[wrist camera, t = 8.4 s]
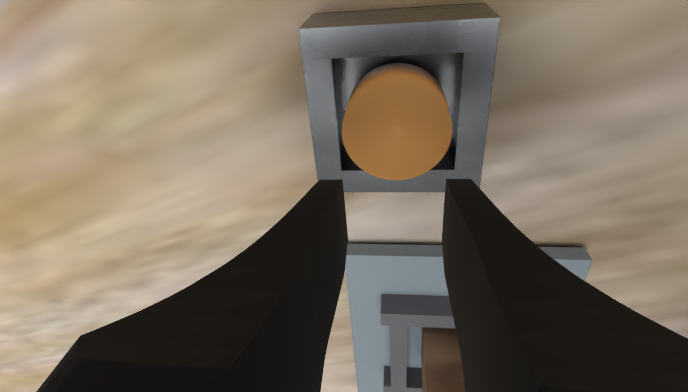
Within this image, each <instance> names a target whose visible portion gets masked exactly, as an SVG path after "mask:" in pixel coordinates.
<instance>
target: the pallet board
mask: <svg viewBox="0 0 688 392" xmlns="http://www.w3.org/2000/svg"><path fill="white" fill-rule="evenodd" d="M539 248H540V249H541V250H543V251H544V252H545V253H546V254H548V255H549V256H550V257H552V258H553V259H554V260H556V261H557V262H558V263H560V264H561V265H562V266H564V267H565V268H567V269H568V270H569V271H571V272H572V273H573V274H575V275H576V276H578V277H579V278H581V279H582V280H584V281H585V279H586V276H587V273H588V270H589V267H590V264H591V261H592V259H591V258H590V256H589V254H588V252H587V251H586V249H585V248H580V247H539ZM345 265H346V275H347V285H348V295H349V306H350V316H351V326H352V336H353V346H354V356H355V366H356V376H357V386H358V392H423V387H422V364H421V345H422V327H431V328H453V329H455V324H454V319H453V314H452V309H451V304H450V300H449V295H448V290H447V285H446V280H445V275H444V263H443V250H442V245H398V244H348V245H347V255H346V264H345Z"/></svg>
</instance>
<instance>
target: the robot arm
mask: <svg viewBox="0 0 688 392" xmlns="http://www.w3.org/2000/svg"><path fill="white" fill-rule="evenodd" d="M347 245H348V235H347V224H346V213H345V202H344V191H343V180H342V179H339V180H319V181H318V182H317V183H316V184H315V185H314V186H313V187H312V188H311V189H310V190H309V191H308V192H307V193H306V195H305V196H304V197H303V198H302V199H301V200H300V201H299V202H298V203H297V204H296V205H295V206H294V207H293V208H292V209H291V210H290V211H289V212H288V213H287V214H286V215H285V216H284V217H283V218H282V219H281V220H280V221H279V222H278V223H277V224H275V225H274V226H273V227H272V228H271V229H270V230H269V231H267V232H266V233H265V234H264V235H263V236H262V237H261V238H260V239H258V240H257V241H256V242H255V243H253V244H252V245H251V246H250V247H248V248H247V249H246V250H244V251H243V252H242V253H240V254H239V255H237V256H236V257H235V258H233V259H232V260H230V261H229V262H228V263H226V264H225V265H223V266H221V267H220V268H218V269H217V270H215V271H213V272H212V273H210V274H208V275H207V276H205V277H203V278H202V279H200V280H198V281H197V282H195V283H194V284H192V285H190V286H188V287H187V288H185V289H183V290H181V291H179V292H177V293H175V294H173V295H172V296H170V297H168V298H166V299H164V300H162V301H160V302H158V303H156V304H154V305H152V306H149V307H147V308H145V309H143V310H141V311H139V312H137V313H134V314H132V315H130V316H127V317H125V318H122V319H120V320H118V321H115V322H113V323H111V324H108V325H106V326H103V327H101V328H99V329H96V330H94V331H91V332H89V333H86V334H84V335H81V336H80V337H79V338H78V340H77V341H76V342H75V343H74V344H73V346H72V347H71V348H70V350H69V351H68V352H67V353H66V355H65V356H64V357H63V359H62V360H61V361H60V362H59V364H58V365H57V366H56V368H55V369H54V370H53V371H52V373H51V374H50V375H49V376H48V378H47V379H46V380H45V382H44V383H43V384H42V385H41V387H40V388H39V389H38V391H37V392H320V390H321V382H322V375H323V367H324V360H325V354H326V349H327V344H328V340H329V335H330V331H331V327H332V323H333V319H334V315H335V310H336V306H337V302H338V298H339V294H340V289H341V285H342V281H343V277H344V272H345V264H346V255H347ZM442 250H443V263H444V275H445V280H446V285H447V290H448V295H449V300H450V304H451V309H452V314H453V319H454V324H455V329H456V334H457V338H458V343H459V348H460V354H461V360H462V366H463V376H464V386H465V392H688V339H687V338H685V337H683V336H681V335H679V334H677V333H675V332H673V331H671V330H669V329H667V328H666V327H664V326H662V325H660V324H658V323H656V322H654V321H652V320H650V319H648V318H646V317H644V316H642V315H641V314H639V313H637V312H635V311H633V310H632V309H630V308H628V307H626V306H625V305H623V304H621V303H619V302H618V301H616V300H614V299H613V298H611V297H609V296H608V295H606V294H605V293H603V292H601V291H600V290H598V289H596V288H595V287H593V286H592V285H590V284H588V283H587V282H585V281H584V280H582V279H581V278H579V277H578V276H576V275H575V274H573V273H572V272H571V271H569V270H568V269H567V268H565V267H564V266H562V265H561V264H560V263H558V262H557V261H556V260H554V259H553V258H552V257H550V256H549V255H548V254H546V253H545V252H544V251H543V250H541V249H540V248H539V247H538V246H537V245H535V244H534V243H533V242H532V241H531V240H530V239H528V238H527V237H526V236H525V235H524V234H523V233H522V232H521V231H519V230H518V229H517V228H516V227H515V226H514V225H513V224H512V223H511V222H510V221H509V220H508V219H507V218H506V217H505V216H504V215H503V214H502V213H501V212H500V211H499V209H498V208H497V207H496V206H495V205H494V204H493V203H492V202H491V201H490V200H489V199H488V197H487V196H486V195H485V194H484V193H483V192H482V191H481V189H480V188H479V187H478V186H477V185H476V184H475V183H474V182H473V181H472V180H471V179H446V188H445V202H444V217H443V232H442Z"/></svg>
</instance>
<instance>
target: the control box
mask: <svg viewBox="0 0 688 392" xmlns="http://www.w3.org/2000/svg"><path fill="white" fill-rule="evenodd" d="M499 23H500V17H499V16H498V15H497V14H496V13H495V12H494V11H493V10H492V9H491V8H490V7H489V6H488V5H487V4H486V3H482V4H466V5H450V6H434V7H418V8H402V9H386V10H370V11H354V12H338V13H322V14H313V15H312V16H311V17H310V18H309V19H308V20H307V21H306V22H305V23H304V24H303V25H302V26H301V27H300V28H299V29H298V31H299V39H300V46H301V54H302V62H303V70H304V77H305V85H306V93H307V101H308V108H309V116H310V124H311V132H312V139H313V147H314V155H315V163H316V170H317V178H318V181H319V180H339V179H342V180H343V191H344V192H445V188H446V179H471V180H472V181H473V182H474V183H475V184H476V185H477V186H478V187H479V188H480V181H481V172H482V164H483V156H484V148H485V139H486V131H487V123H488V114H489V106H490V98H491V89H492V81H493V73H494V65H495V56H496V48H497V40H498V31H499ZM391 63H406V64H411V65H415V66H418V67H420V68H422V69H424V70H426V71H427V72H429V73H430V74H431V75H432V76H433V77H434V78H435V79H436V80H437V81H438V82H439V84H440V85H441V87H442V89H443V91H444V93H445V97H446V100H447V104H448V108H449V112H450V116H451V121H452V137H451V142H450V145H449V147H448V150H447V152H446V153H445V155H444V157H443V158H442V159H441V160H440V162H439V163H438V164H437V165H436V166H434V167H433V168H432V169H431V170H429V171H428V172H426V173H424V174H422V175H420V176H417V177H415V178H411V179H406V180H386V179H381V178H378V177H375V176H373V175H370V174H369V173H367V172H365V171H364V170H362V169H361V168H359V167H358V166H357V165H356V164H355V163H354V162H353V160H352V159H351V158H350V156H349V155H348V153H347V151H346V149H345V146H344V143H343V138H342V123H343V119H344V115H345V112H346V108H347V105H348V102H349V98H350V95H351V93H352V91H353V89H354V87H355V85H356V84H357V83H358V82H359V80H360V79H361V78H362V77H363V76H364V75H366V74H367V73H368V72H370V71H371V70H373V69H375V68H377V67H380V66H382V65H386V64H391Z"/></svg>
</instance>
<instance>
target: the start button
mask: <svg viewBox="0 0 688 392" xmlns="http://www.w3.org/2000/svg"><path fill="white" fill-rule="evenodd" d="M451 137H452V121H451V116H450V112H449V108H448V104H447V100H446V97H445V93H444V91H443V89H442V87H441V85H440V84H439V82H438V81H437V80H436V79H435V78H434V77H433V76H432V75H431V74H430V73H429V72H427V71H426V70H424V69H422V68H420V67H418V66H415V65H411V64H406V63H391V64H386V65H382V66H380V67H377V68H375V69H373V70H371V71H370V72H368V73H367V74H366V75H364V76H363V77H362V78H361V79H360V80H359V82H358V83H357V84H356V85H355V87H354V89H353V91H352V93H351V95H350V98H349V102H348V105H347V108H346V112H345V115H344V119H343V123H342V138H343V143H344V146H345V149H346V151H347V153H348V155H349V156H350V158H351V159H352V160H353V162H354V163H355V164H356V165H357V166H358V167H359V168H361V169H362V170H364V171H365V172H367V173H369V174H370V175H373V176H375V177H378V178H381V179H386V180H406V179H411V178H415V177H417V176H420V175H422V174H424V173H426V172H428V171H429V170H431V169H432V168H433V167H434V166H436V165H437V164H438V163H439V162H440V160H441V159H442V158H443V157H444V155H445V153H446V152H447V150H448V147H449V145H450V142H451Z"/></svg>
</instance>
